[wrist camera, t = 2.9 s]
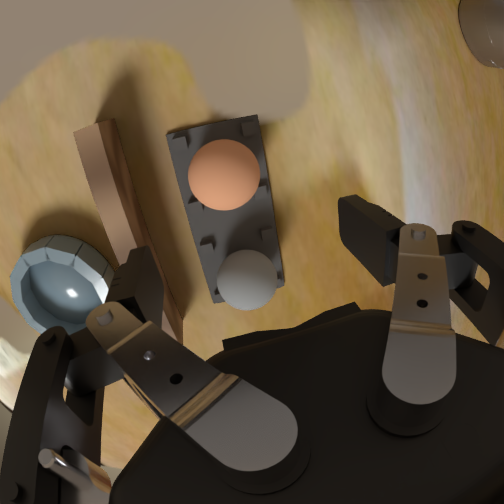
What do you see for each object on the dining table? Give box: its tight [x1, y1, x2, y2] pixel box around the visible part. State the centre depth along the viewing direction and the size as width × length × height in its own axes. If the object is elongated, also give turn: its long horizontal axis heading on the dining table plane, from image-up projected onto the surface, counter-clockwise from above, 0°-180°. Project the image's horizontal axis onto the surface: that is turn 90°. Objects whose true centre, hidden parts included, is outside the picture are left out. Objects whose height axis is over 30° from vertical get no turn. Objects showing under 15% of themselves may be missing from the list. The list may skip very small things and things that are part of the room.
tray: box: [166, 115, 284, 303], centre depth 25 cm, size 16×7×1 cm, turn 10°
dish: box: [10, 235, 115, 335], centre depth 24 cm, size 11×11×3 cm
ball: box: [188, 139, 260, 211], centre depth 21 cm, size 5×5×5 cm
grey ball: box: [217, 250, 278, 310], centre depth 25 cm, size 5×5×5 cm
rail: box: [73, 118, 183, 345], centre depth 23 cm, size 20×2×4 cm, turn 10°
